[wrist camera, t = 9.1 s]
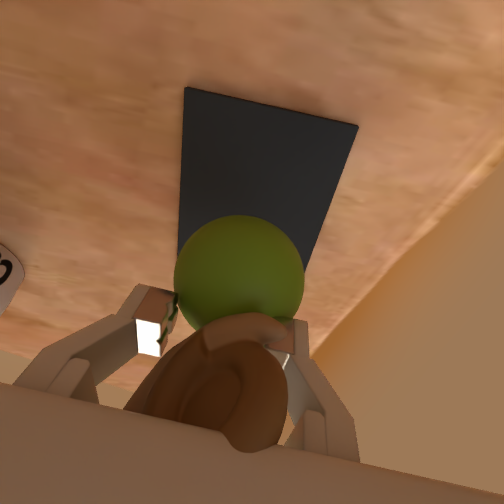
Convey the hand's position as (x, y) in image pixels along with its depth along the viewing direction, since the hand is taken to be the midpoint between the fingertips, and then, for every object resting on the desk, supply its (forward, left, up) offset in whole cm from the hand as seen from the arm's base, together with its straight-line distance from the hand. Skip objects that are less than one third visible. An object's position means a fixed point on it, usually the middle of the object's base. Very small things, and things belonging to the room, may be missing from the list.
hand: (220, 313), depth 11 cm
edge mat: (0, 0, -9) cm, 9 cm away
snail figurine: (0, 0, -5) cm, 5 cm away
